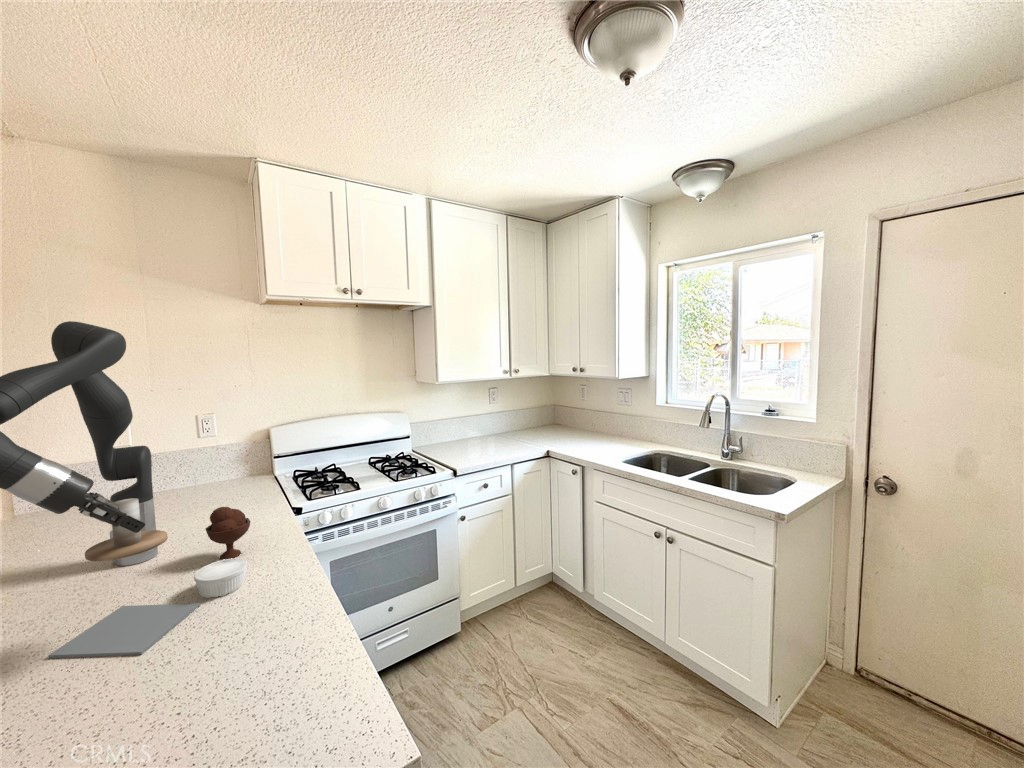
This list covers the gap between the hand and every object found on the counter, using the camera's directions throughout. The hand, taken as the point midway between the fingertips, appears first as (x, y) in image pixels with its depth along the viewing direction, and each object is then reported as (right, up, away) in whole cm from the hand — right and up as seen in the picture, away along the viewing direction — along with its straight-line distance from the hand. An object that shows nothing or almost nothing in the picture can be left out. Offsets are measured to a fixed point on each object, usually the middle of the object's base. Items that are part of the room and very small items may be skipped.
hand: (138, 525), depth 90 cm
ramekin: (+8, -22, +15) cm, 28 cm away
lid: (-1, -4, -1) cm, 4 cm away
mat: (-1, -23, 0) cm, 23 cm away
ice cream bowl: (-2, -20, +33) cm, 38 cm away
